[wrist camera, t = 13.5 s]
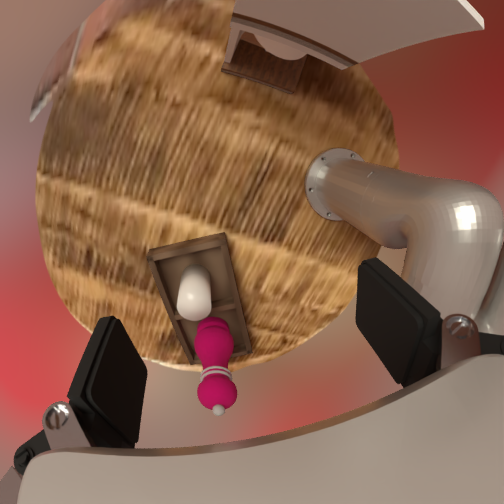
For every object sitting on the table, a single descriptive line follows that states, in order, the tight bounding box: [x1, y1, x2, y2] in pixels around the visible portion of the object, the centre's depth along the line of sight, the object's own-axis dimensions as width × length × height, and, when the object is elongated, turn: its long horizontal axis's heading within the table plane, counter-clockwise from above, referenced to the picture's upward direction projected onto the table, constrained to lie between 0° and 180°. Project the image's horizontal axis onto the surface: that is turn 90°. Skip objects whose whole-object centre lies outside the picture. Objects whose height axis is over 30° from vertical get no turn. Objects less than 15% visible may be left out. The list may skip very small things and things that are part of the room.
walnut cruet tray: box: [146, 232, 253, 365], centre depth 48 cm, size 13×25×3 cm, turn 10°
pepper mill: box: [194, 317, 237, 416], centre depth 42 cm, size 7×7×20 cm
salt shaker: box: [177, 264, 211, 321], centre depth 42 cm, size 5×5×9 cm
